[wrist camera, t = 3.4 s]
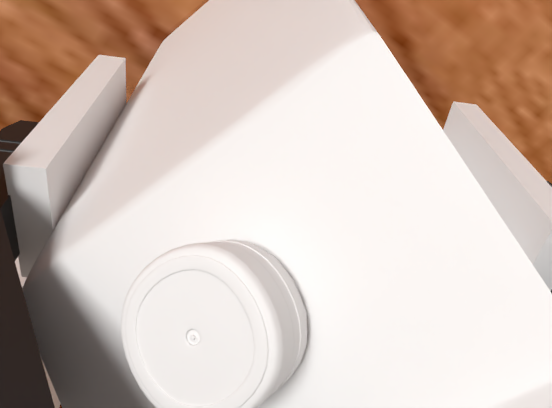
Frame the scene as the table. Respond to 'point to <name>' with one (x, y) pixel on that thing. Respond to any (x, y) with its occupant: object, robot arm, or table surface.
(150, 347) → the milk carton
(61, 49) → the table surface
